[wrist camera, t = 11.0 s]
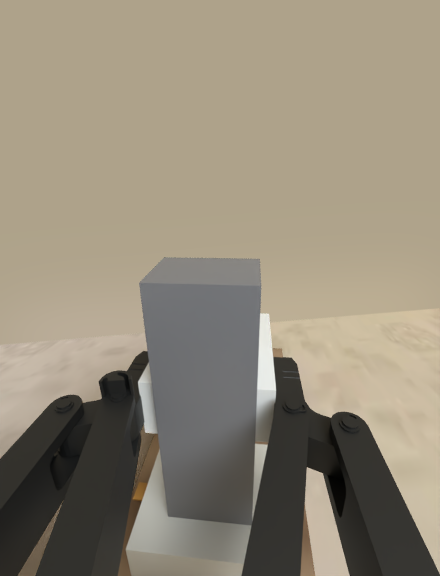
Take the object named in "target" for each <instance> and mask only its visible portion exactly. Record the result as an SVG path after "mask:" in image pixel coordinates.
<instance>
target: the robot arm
mask: <svg viewBox="0 0 440 576" xmlns="http://www.w3.org/2000/svg"><path fill="white" fill-rule="evenodd" d="M99 385H100V390H101V395H102V399H101V400H97V401H91V402H86V403H82V399H81V398H80V397H79V396H77V395H66V396H63V397H60V398H58V399H56V400H55V401H53V402H52V403H51V404H50V405H49V406H48V407H47V408H46V409H45V410H44V411H43V413H42V414H41V415H40V416H39V417H38V418H37V419H36V420H35V421H34V422H33V424H32V425H31V426H30V427H29V428H28V429H27V430H26V431H25V432H24V433H23V435H22V436H21V437H20V438H19V439H18V440H17V441H16V442H15V443H14V444H13V446H12V447H11V448H10V449H9V450H8V451H7V452H6V453H5V454H4V455H3V457H2V458H1V459H0V576H17V575H18V574H19V572H20V570H21V569H22V567H23V565H24V564H25V562H26V560H27V559H28V557H29V556H30V554H31V552H32V551H33V549H34V547H35V546H36V544H37V542H38V541H39V539H40V537H41V536H42V534H43V533H44V531H45V529H46V528H47V526H48V524H49V523H50V521H51V519H52V518H53V516H54V514H55V513H56V511H57V510H58V508H59V506H60V505H61V503H62V501H63V500H64V501H63V503H62V506H61V509H60V511H59V514H58V517H57V519H56V522H55V525H54V527H53V530H52V533H51V535H50V538H49V541H48V543H47V546H46V549H45V552H44V554H43V557H42V560H41V562H40V565H39V568H38V570H37V573H36V576H118V572H119V566H120V560H121V555H122V549H123V543H124V537H125V531H126V526H127V520H128V514H129V508H130V502H131V497H132V491H133V485H134V479H135V473H136V468H137V462H138V456H139V450H140V444H141V435H140V431H141V429H142V427H143V424H144V428H145V433H155V434H158V431H157V423H156V415H155V407H154V399H153V390H152V382H151V374H150V366H149V358H148V351H143V352H142V353H140V354H139V355H138V356H136V357H135V359H134V361H133V362H132V365H130V367H129V369H128V370H127V372H126V371H114V372H111V373H108V374H106V375H105V376H103V377H102V378H101V379H100V381H99ZM255 441H259V442H268V446H267V451H266V456H265V461H264V466H263V471H262V476H261V481H260V486H259V491H258V496H257V501H256V506H255V510H254V515H253V520H252V525H251V530H250V535H249V540H248V545H247V550H246V555H245V560H244V565H243V570H242V575H241V576H300V574H301V556H302V539H303V521H304V504H305V487H306V469H307V467H308V468H311V469H314V470H316V471H319V472H321V473H323V475H324V479H325V483H326V487H327V490H328V494H329V498H330V502H331V506H332V509H333V513H334V517H335V521H336V525H337V529H338V532H339V536H340V540H341V544H342V548H343V552H344V555H345V559H346V563H347V567H348V571H349V574H350V576H440V574H439V572H438V570H437V568H436V566H435V564H434V561H433V559H432V557H431V555H430V553H429V551H428V549H427V547H426V545H425V543H424V541H423V539H422V537H421V535H420V532H419V530H418V528H417V526H416V524H415V522H414V520H413V518H412V516H411V514H410V512H409V510H408V508H407V506H406V503H405V501H404V499H403V497H402V495H401V493H400V491H399V489H398V487H397V485H396V483H395V481H394V479H393V477H392V474H391V472H390V470H389V468H388V466H387V464H386V462H385V460H384V458H383V456H382V454H381V452H380V450H379V448H378V445H377V443H376V441H375V439H374V437H373V435H372V433H371V431H370V429H369V427H368V425H367V424H366V422H365V421H364V420H363V419H361V418H360V417H359V416H357V415H355V414H353V413H349V412H337V413H336V414H334V415H333V416H332V418H329V417H326V416H323V415H320V414H318V413H316V412H314V411H313V410H311V409H310V408H309V406H308V405H307V403H306V402H305V400H304V395H303V390H302V386H301V381H300V376H299V373H298V367H297V364H296V363H295V361H294V360H293V359H292V358H286V357H273V352H272V341H271V330H270V320H269V314H260V330H259V356H258V382H257V408H256V433H255Z"/></svg>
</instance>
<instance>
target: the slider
mask: <svg viewBox="0 0 440 576" xmlns="http://www.w3.org/2000/svg"><path fill="white" fill-rule="evenodd" d="M139 285H140V293H141V301H142V309H143V317H144V325H145V334H146V342H147V350H148V358H149V366H150V374H151V382H152V390H153V399H154V407H155V415H156V423H157V431H158V439H159V447H160V449H159V452H158V455H157V458H156V461H155V464H154V467H153V470H152V473H151V476H150V479H149V482H148V485H147V488H146V491H145V494H144V497H143V500H142V502H141V505H140V508H139V511H138V514H137V517H136V520H135V523H134V526H133V529H132V532H131V535H130V538H129V541H128V544H127V547H126V554H127V558H128V563H129V568H130V572H131V576H241V575H242V570H243V565H244V560H245V555H246V550H247V545H248V540H249V535H250V530H251V525H252V520H253V515H254V510H255V506H256V501H257V496H258V491H259V486H260V481H261V476H262V471H263V466H264V461H265V456H266V451H267V446H268V445H264V444H255V433H256V408H257V382H258V356H259V330H260V304H261V273H260V259H230V258H229V259H228V258H226V259H225V258H166V257H164V258H163V259H162V260H161V261H160V262H159V263H158V264H157V265H156V266H155V267H154V268H153V269H152V270H151V271H150V272H149V273H148V275H146V276H145V278H144V279H143V280H142V281H141V282H140V283H139Z"/></svg>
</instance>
